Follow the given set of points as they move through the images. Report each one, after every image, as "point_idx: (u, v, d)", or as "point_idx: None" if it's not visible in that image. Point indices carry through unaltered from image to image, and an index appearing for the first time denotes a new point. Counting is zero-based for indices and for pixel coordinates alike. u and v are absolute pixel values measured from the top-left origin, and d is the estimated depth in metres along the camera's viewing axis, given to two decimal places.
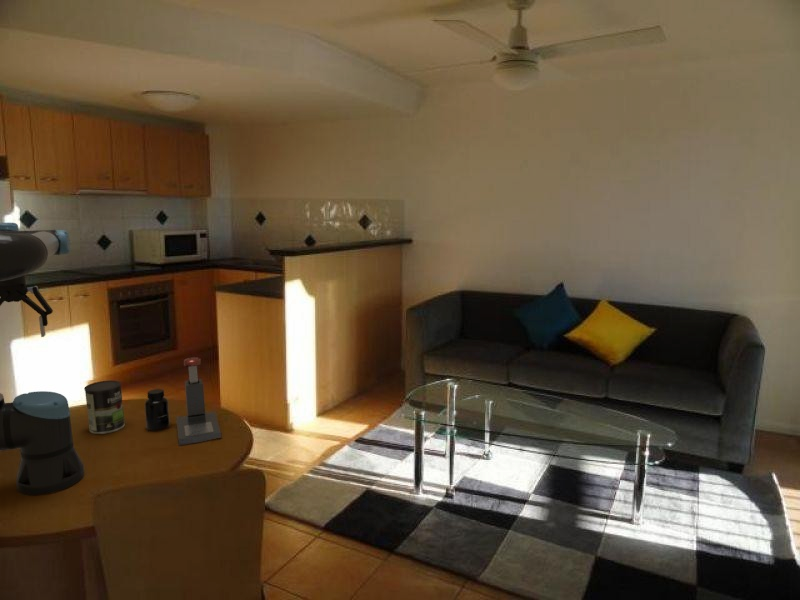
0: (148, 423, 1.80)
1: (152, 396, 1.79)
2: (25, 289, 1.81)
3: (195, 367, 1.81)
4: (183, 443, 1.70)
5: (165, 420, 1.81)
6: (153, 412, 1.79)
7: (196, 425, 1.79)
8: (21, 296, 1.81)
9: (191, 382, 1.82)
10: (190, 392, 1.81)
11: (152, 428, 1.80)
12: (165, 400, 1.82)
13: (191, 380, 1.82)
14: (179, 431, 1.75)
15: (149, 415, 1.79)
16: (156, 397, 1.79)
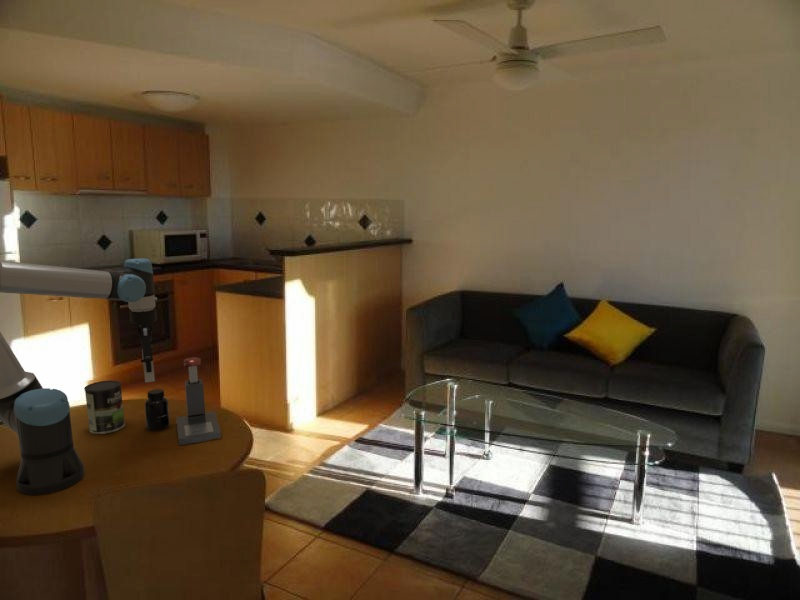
0: (148, 423, 1.80)
1: (152, 396, 1.79)
2: (141, 329, 1.74)
3: (195, 367, 1.81)
4: (183, 443, 1.70)
5: (165, 420, 1.81)
6: (153, 412, 1.79)
7: (196, 425, 1.79)
8: (139, 335, 1.75)
9: (191, 382, 1.82)
10: (190, 392, 1.81)
11: (152, 428, 1.80)
12: (165, 400, 1.82)
13: (191, 380, 1.82)
14: (179, 431, 1.75)
15: (149, 415, 1.79)
16: (156, 397, 1.79)
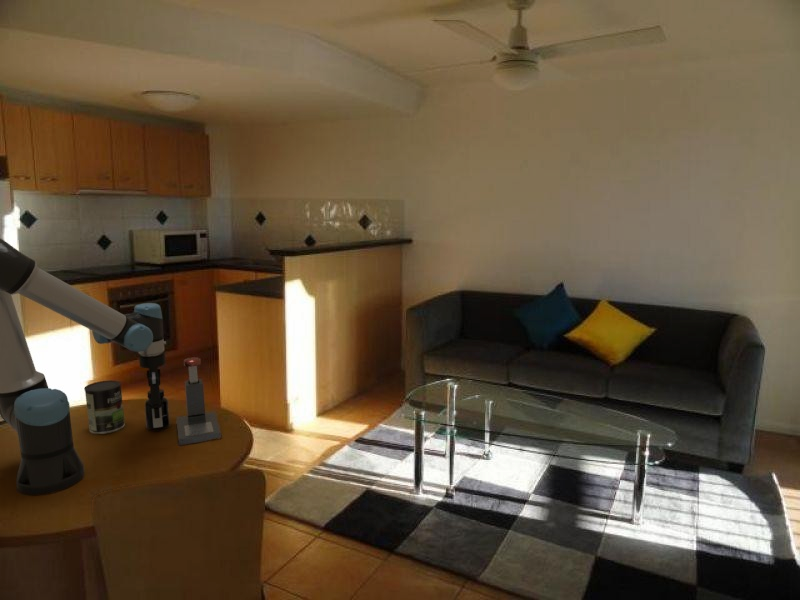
0: (148, 423, 1.80)
1: None
2: (149, 374, 1.76)
3: (195, 367, 1.81)
4: (183, 443, 1.70)
5: (165, 419, 1.81)
6: None
7: (196, 425, 1.79)
8: (148, 380, 1.78)
9: (191, 382, 1.82)
10: (190, 392, 1.81)
11: (152, 428, 1.80)
12: (165, 400, 1.82)
13: (191, 380, 1.82)
14: (179, 431, 1.75)
15: (149, 415, 1.79)
16: None
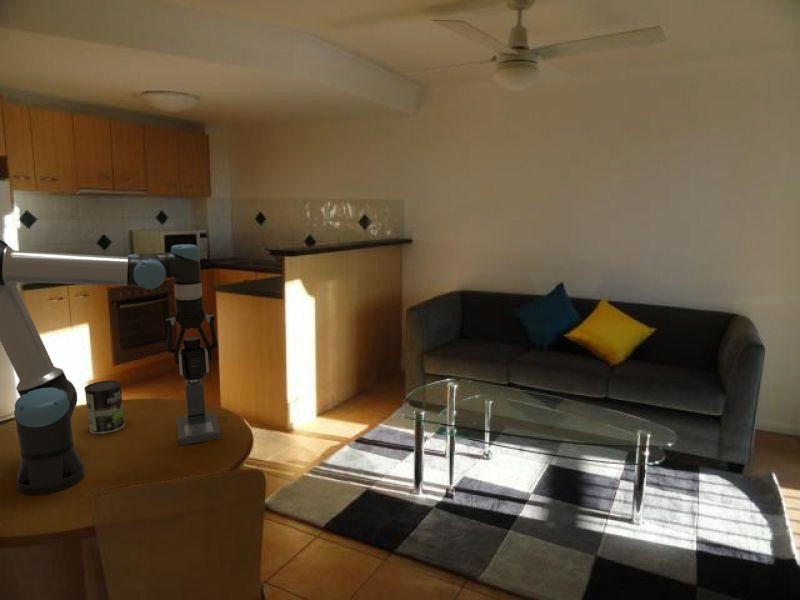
0: (202, 371, 1.71)
1: (199, 341, 1.71)
2: (204, 316, 1.70)
3: None
4: (183, 443, 1.70)
5: None
6: (204, 356, 1.72)
7: (196, 425, 1.79)
8: (198, 324, 1.69)
9: (191, 382, 1.82)
10: (190, 392, 1.81)
11: (205, 374, 1.73)
12: None
13: (191, 380, 1.82)
14: (179, 431, 1.75)
15: (202, 361, 1.71)
16: None
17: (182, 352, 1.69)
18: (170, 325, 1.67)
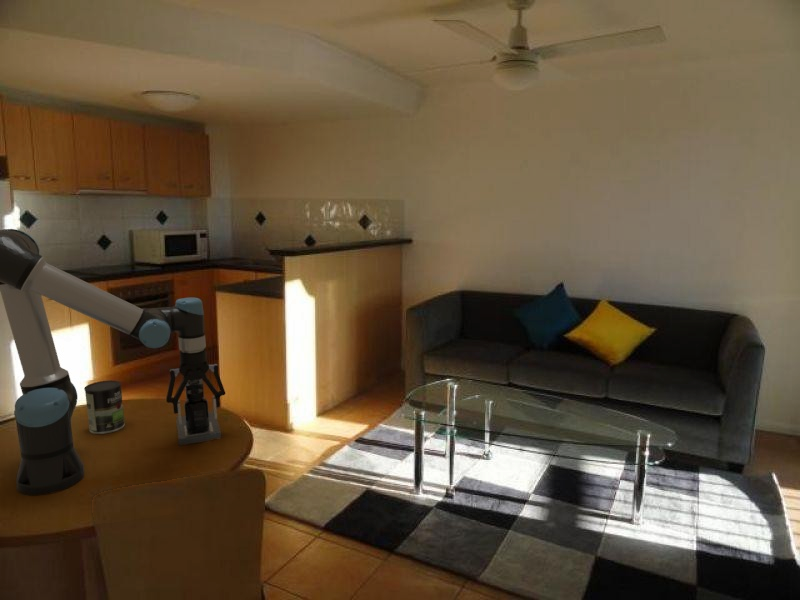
0: (205, 423, 1.74)
1: (202, 394, 1.74)
2: (207, 367, 1.73)
3: None
4: (183, 443, 1.70)
5: None
6: (207, 408, 1.75)
7: None
8: (203, 375, 1.72)
9: (191, 382, 1.82)
10: None
11: (208, 426, 1.76)
12: None
13: None
14: (179, 431, 1.75)
15: (206, 413, 1.74)
16: None
17: (186, 405, 1.72)
18: (173, 376, 1.70)
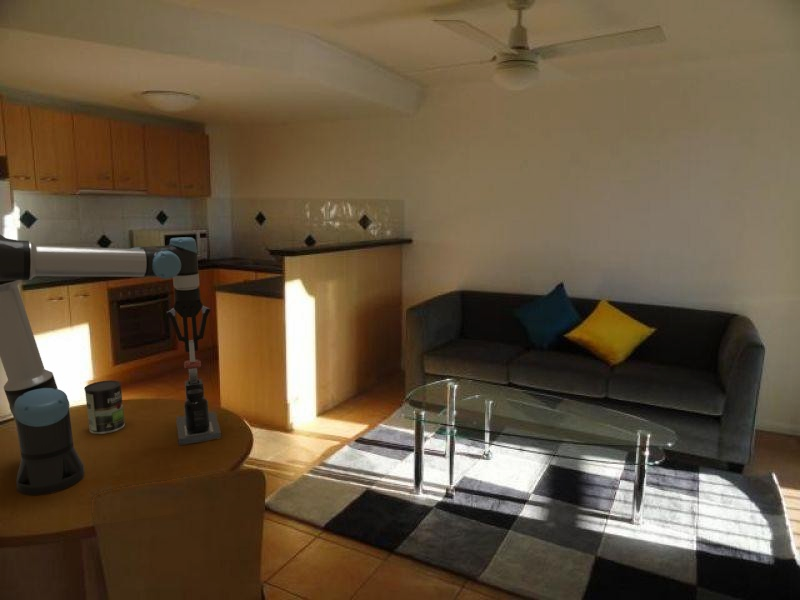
0: (205, 423, 1.74)
1: (202, 394, 1.74)
2: (201, 306, 1.79)
3: (195, 369, 1.82)
4: (183, 443, 1.70)
5: None
6: (207, 408, 1.75)
7: None
8: (194, 314, 1.78)
9: None
10: None
11: (208, 425, 1.76)
12: None
13: (191, 382, 1.82)
14: (179, 431, 1.75)
15: (206, 413, 1.74)
16: (203, 394, 1.75)
17: (186, 405, 1.72)
18: (172, 316, 1.76)
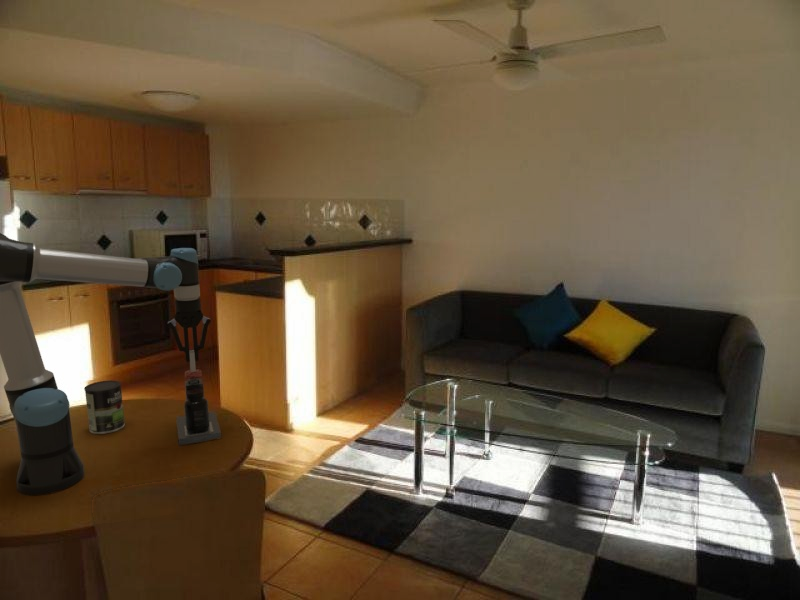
0: (205, 423, 1.74)
1: (202, 394, 1.74)
2: (201, 316, 1.80)
3: (196, 379, 1.82)
4: (183, 443, 1.70)
5: None
6: (207, 408, 1.75)
7: None
8: (194, 324, 1.79)
9: None
10: None
11: (208, 426, 1.76)
12: None
13: None
14: (179, 431, 1.75)
15: (206, 413, 1.74)
16: (203, 394, 1.75)
17: (186, 405, 1.72)
18: (173, 326, 1.77)
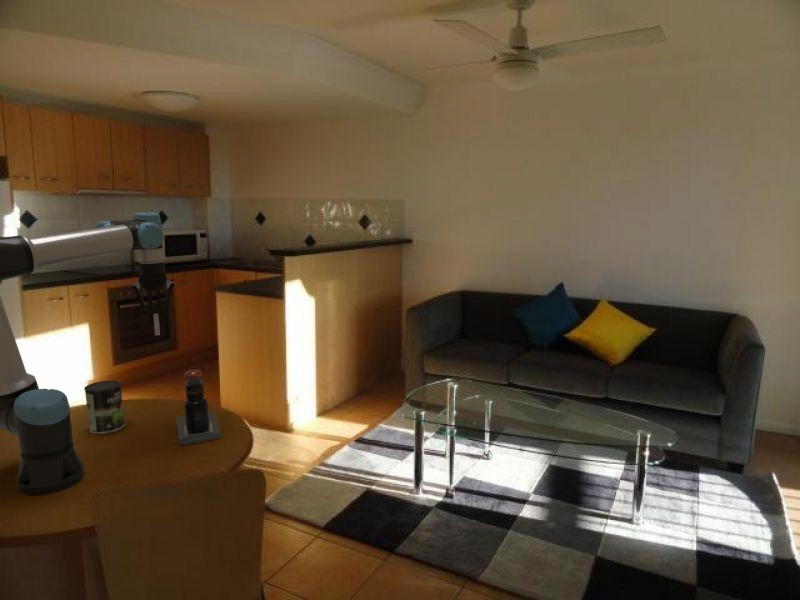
0: (205, 423, 1.74)
1: (202, 394, 1.74)
2: (165, 280, 1.83)
3: (196, 379, 1.82)
4: (183, 443, 1.70)
5: None
6: (207, 408, 1.75)
7: None
8: (158, 287, 1.82)
9: None
10: None
11: (208, 426, 1.76)
12: None
13: None
14: (179, 431, 1.75)
15: (206, 413, 1.74)
16: (203, 394, 1.75)
17: (186, 405, 1.72)
18: (136, 289, 1.80)
